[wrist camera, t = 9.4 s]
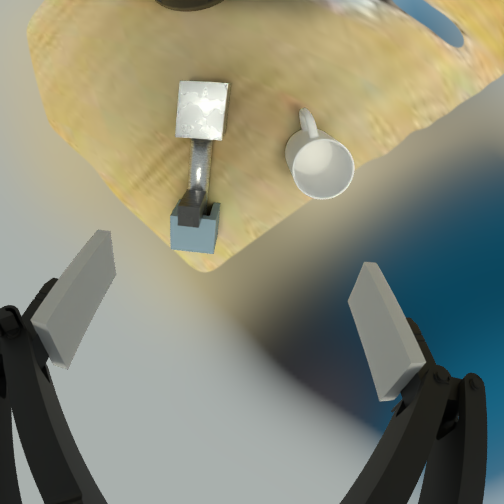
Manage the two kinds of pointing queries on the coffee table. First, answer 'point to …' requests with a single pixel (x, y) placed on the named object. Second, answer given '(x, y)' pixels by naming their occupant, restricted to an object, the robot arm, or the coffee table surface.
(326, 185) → the cup
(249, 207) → the coffee table surface
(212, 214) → the socket
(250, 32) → the coffee table surface
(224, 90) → the grey metal block
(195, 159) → the grey piece
